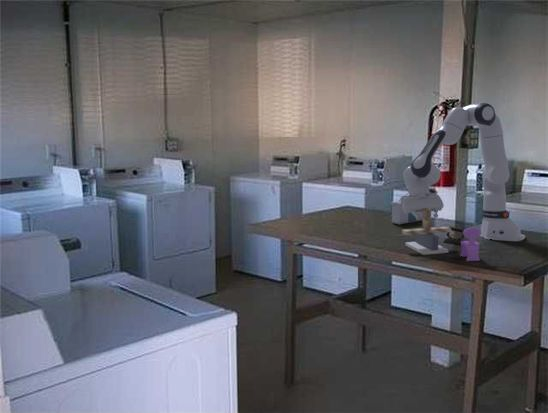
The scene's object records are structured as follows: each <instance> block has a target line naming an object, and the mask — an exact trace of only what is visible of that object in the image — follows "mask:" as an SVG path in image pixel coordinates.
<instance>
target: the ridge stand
mask: <svg viewBox="0 0 548 413" xmlns="http://www.w3.org/2000/svg"><path fill="white" fill-rule="evenodd" d="M404 244H405V247H408V248H409V249H412V250H413V251H415V252H417V253H419V254H421V255H422V256H423V255H424V256H425V255H435V254H445V253H446V254H447V253H449V249H448V248H447V247H445V246H442V245H440V244H439V236H438V235H436V234H434V233H432V234H419V235H414V241H407V242H405V243H404Z"/></svg>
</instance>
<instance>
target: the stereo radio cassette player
mask: <svg viewBox="0 0 548 413" xmlns="http://www.w3.org/2000/svg"><path fill="white" fill-rule="evenodd" d="M408 195H409V193H408V192H407V193H406V194H405V195H404V196H408ZM416 213H417V214H419V215H420V219H416V217H415V216H414V215H413V214H412V213H405V212H404V210H403V206H402V203H401V200H400V199H399V200H393V201H391V222H392V223H393V224H396V225H403V224H409V223H415V222H422V221H423V212H416Z"/></svg>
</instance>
